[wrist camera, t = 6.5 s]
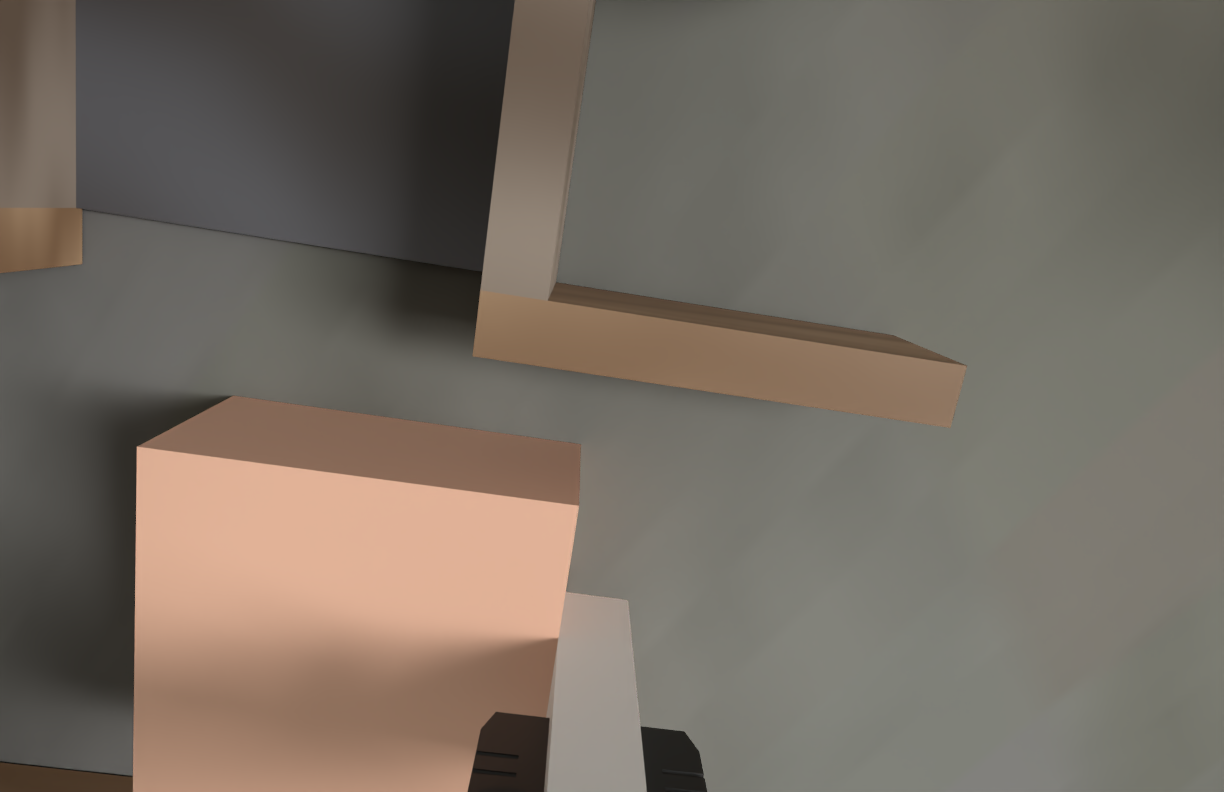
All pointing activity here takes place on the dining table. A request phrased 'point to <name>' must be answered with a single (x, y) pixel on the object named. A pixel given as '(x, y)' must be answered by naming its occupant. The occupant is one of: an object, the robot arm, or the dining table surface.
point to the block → (340, 597)
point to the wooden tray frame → (382, 183)
